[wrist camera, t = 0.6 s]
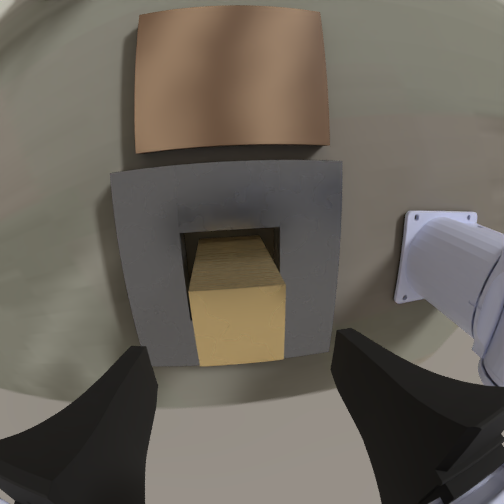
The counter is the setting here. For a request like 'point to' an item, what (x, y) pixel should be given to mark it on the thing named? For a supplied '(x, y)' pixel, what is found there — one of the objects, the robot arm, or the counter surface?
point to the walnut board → (230, 78)
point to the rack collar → (228, 218)
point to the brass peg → (237, 302)
